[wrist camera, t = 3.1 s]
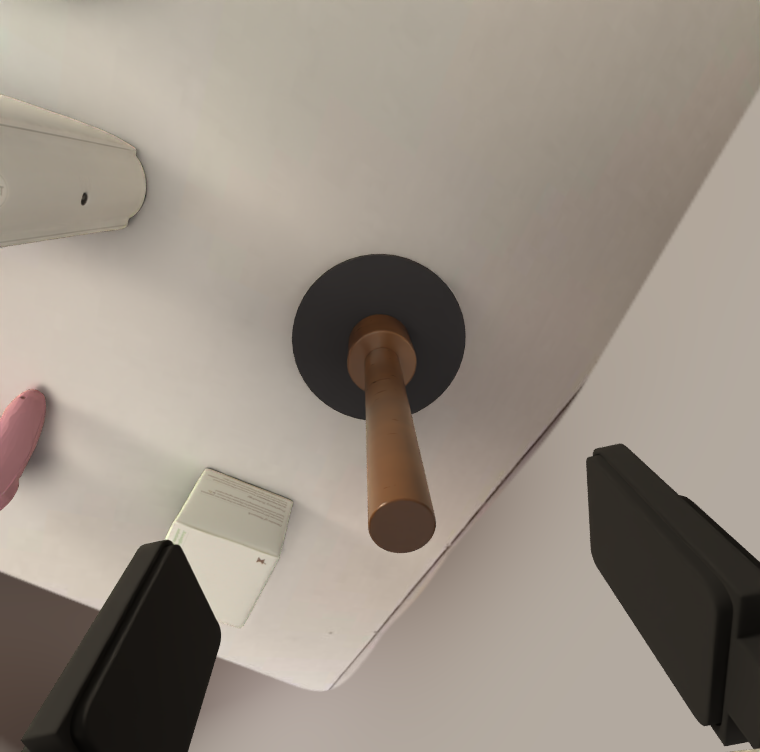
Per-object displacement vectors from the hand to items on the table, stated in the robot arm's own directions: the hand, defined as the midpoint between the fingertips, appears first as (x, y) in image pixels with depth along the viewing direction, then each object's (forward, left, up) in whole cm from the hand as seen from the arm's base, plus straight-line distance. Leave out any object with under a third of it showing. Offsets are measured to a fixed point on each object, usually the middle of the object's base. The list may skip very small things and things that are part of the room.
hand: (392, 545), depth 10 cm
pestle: (0, 0, -14) cm, 14 cm away
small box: (+11, +9, -15) cm, 21 cm away
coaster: (0, 0, -15) cm, 15 cm away
